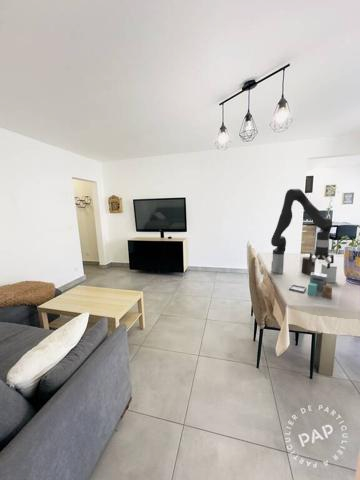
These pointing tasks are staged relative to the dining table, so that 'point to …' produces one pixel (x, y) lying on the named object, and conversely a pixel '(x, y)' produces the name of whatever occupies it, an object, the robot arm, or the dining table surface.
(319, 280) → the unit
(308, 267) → the pillar candle
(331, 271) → the supplement box
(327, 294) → the walnut block
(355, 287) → the dining table surface
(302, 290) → the tray
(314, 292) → the teal block
